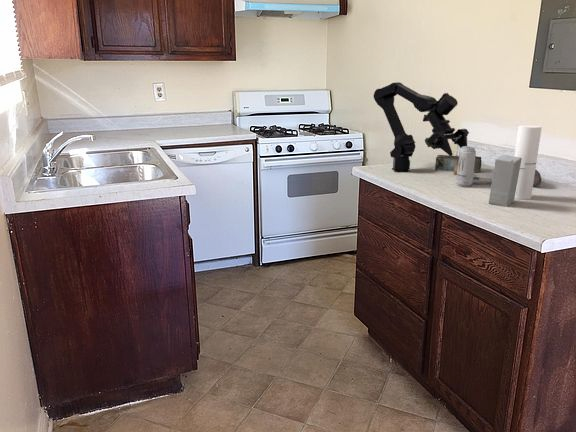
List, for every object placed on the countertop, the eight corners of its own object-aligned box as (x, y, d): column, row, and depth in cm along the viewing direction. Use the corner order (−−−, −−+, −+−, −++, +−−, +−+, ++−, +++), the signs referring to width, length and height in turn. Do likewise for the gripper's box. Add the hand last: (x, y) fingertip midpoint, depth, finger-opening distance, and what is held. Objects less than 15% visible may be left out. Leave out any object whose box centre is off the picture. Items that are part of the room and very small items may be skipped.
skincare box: (495, 198, 171) (500, 154, 166) (516, 202, 166) (523, 156, 162) (487, 203, 165) (492, 157, 160) (509, 207, 160) (515, 160, 155)
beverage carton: (436, 167, 224) (437, 152, 222) (480, 170, 217) (482, 155, 215) (434, 170, 217) (435, 155, 215) (480, 173, 210) (482, 158, 208)
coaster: (469, 185, 190) (469, 183, 190) (458, 178, 200) (458, 177, 200) (497, 184, 190) (497, 182, 190) (484, 178, 201) (484, 176, 201)
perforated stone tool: (545, 188, 183) (548, 171, 181) (531, 189, 183) (534, 171, 181) (525, 179, 198) (528, 163, 196) (513, 180, 198) (515, 163, 195)
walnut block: (459, 176, 204) (460, 167, 203) (453, 174, 208) (454, 165, 207) (467, 175, 205) (468, 166, 204) (461, 174, 209) (462, 164, 208)
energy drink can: (452, 184, 191) (456, 146, 186) (465, 183, 193) (469, 145, 188) (462, 188, 185) (467, 149, 181) (475, 186, 187) (479, 148, 183)
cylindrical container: (533, 200, 169) (544, 127, 161) (511, 199, 170) (521, 127, 162) (528, 194, 175) (538, 125, 168) (507, 193, 177) (516, 124, 169)
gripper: (441, 134, 205) (460, 163, 200) (411, 137, 195) (430, 168, 190) (459, 116, 197) (479, 147, 191) (427, 119, 187) (448, 151, 181)
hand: (459, 154), depth 188 cm, fingers open, 9 cm apart
